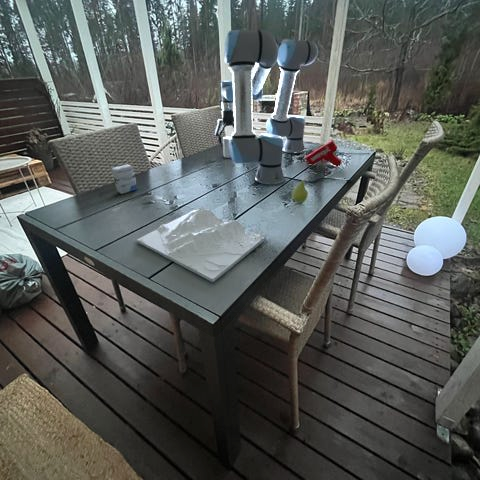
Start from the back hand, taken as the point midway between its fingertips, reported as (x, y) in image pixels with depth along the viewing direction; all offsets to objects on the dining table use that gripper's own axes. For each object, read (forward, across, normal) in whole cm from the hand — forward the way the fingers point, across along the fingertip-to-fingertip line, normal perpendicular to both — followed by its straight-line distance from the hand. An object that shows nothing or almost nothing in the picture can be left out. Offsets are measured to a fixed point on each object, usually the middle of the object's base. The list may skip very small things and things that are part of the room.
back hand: (256, 96), depth 202 cm
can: (+32, +36, -30) cm, 57 cm away
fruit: (+32, +116, -16) cm, 122 cm away
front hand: (+25, +36, -30) cm, 53 cm away
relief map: (+32, +137, -63) cm, 154 cm away
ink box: (+32, +81, -92) cm, 127 cm away
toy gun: (+32, +73, +19) cm, 82 cm away
